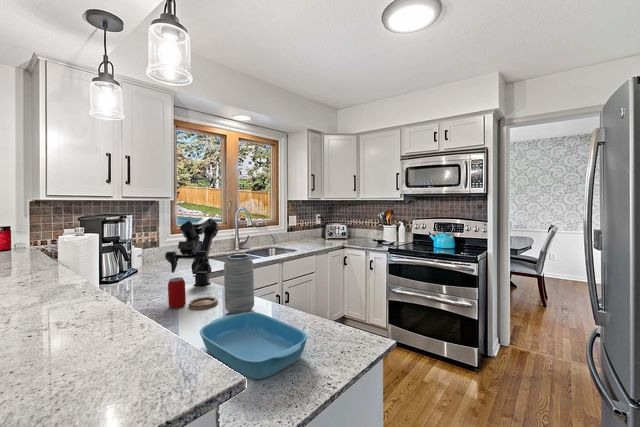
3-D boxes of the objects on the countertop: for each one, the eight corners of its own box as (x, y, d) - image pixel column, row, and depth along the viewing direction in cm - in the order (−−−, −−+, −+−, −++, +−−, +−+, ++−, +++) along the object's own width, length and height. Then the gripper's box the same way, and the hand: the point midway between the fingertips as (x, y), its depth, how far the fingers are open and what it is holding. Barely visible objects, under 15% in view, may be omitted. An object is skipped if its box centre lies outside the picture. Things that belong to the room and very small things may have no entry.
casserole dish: (188, 347, 98) (188, 325, 97) (248, 325, 114) (248, 306, 114) (258, 399, 73) (257, 369, 72) (322, 361, 89) (322, 337, 89)
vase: (219, 313, 125) (217, 257, 123) (239, 304, 135) (237, 252, 134) (241, 319, 119) (239, 260, 118) (260, 309, 129) (259, 254, 128)
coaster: (203, 298, 143) (203, 295, 143) (223, 302, 138) (223, 298, 138) (182, 307, 132) (182, 303, 132) (203, 311, 127) (203, 307, 127)
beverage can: (188, 303, 137) (187, 277, 136) (180, 309, 130) (179, 281, 129) (174, 303, 137) (173, 276, 137) (165, 309, 131) (164, 281, 130)
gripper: (165, 234, 144) (155, 263, 134) (206, 234, 145) (198, 262, 135) (173, 248, 152) (164, 276, 142) (212, 247, 153) (205, 275, 143)
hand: (182, 272), depth 140 cm, fingers open, 9 cm apart
